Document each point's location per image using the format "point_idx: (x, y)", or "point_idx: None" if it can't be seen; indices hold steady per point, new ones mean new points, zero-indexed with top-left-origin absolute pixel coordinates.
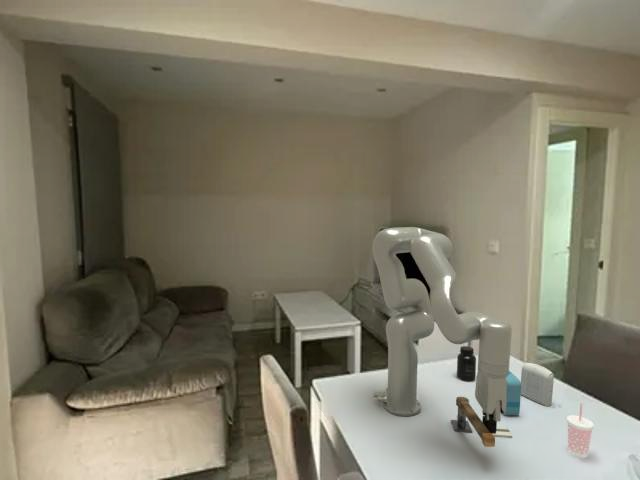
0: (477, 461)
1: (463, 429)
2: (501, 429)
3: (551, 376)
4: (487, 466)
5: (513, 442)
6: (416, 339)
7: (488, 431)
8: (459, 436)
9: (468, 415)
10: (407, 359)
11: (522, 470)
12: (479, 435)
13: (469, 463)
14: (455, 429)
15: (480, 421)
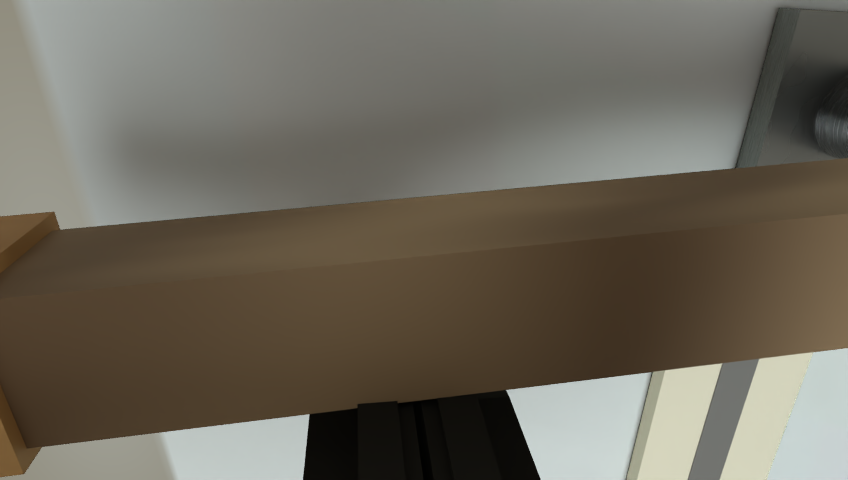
0: (266, 108)
1: (776, 113)
2: (724, 447)
3: None
4: (203, 185)
5: (569, 476)
6: None
7: (118, 425)
8: (689, 39)
9: (792, 193)
10: None
11: (214, 444)
12: (206, 221)
13: (213, 5)
14: (794, 17)
15: (488, 366)
